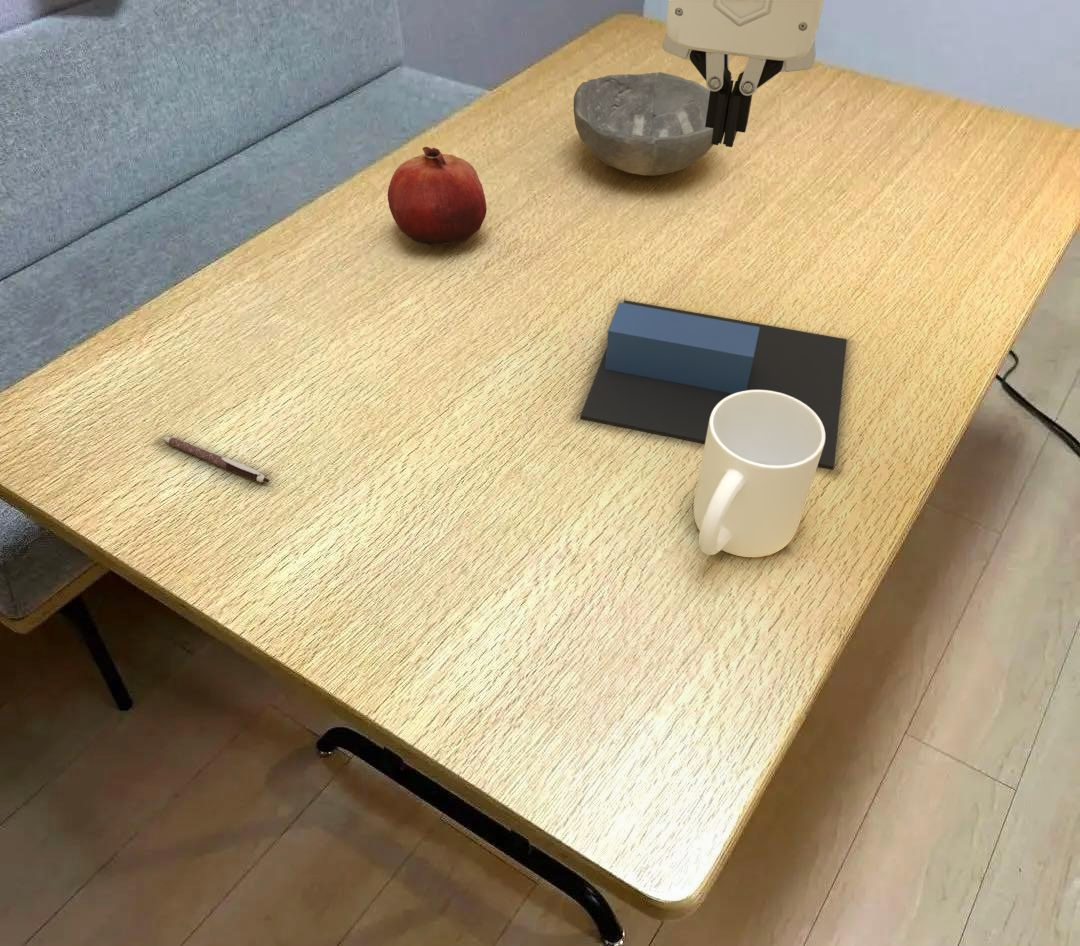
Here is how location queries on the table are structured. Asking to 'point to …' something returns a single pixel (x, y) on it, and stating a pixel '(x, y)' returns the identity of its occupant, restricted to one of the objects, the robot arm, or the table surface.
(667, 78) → the bowl
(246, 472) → the pen
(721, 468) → the mug
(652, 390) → the mat
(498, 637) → the table surface
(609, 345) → the block
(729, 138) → the robot arm
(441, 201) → the fruit
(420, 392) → the table surface
